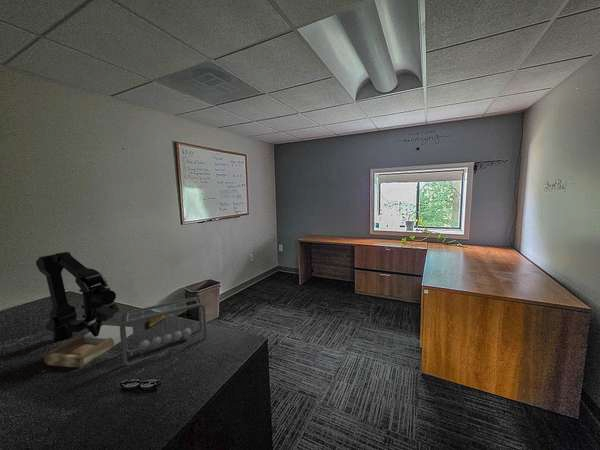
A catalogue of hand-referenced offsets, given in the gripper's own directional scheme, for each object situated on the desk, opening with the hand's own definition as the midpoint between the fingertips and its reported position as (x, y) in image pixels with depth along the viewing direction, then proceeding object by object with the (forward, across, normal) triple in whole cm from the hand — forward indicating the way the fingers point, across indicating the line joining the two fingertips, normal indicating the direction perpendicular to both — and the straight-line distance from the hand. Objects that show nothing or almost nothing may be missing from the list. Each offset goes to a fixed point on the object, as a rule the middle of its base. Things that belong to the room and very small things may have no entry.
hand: (96, 336), depth 105 cm
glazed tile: (+2, -6, 0) cm, 6 cm away
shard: (+5, +19, -15) cm, 25 cm away
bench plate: (+4, +5, 0) cm, 7 cm away
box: (+4, -7, 0) cm, 8 cm away
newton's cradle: (+4, +2, -32) cm, 33 cm away
